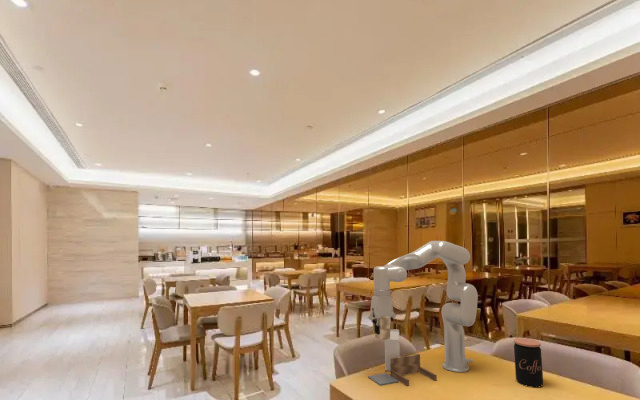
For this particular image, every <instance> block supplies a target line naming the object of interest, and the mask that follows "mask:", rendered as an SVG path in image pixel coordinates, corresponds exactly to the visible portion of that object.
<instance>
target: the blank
mask: <svg viewBox="0 0 640 400" xmlns="http://www.w3.org/2000/svg"><path fill="white" fill-rule="evenodd" d="M379 326H380V334H376V333H375V332H374V338H376V339H378V340H380V341H385V340H386V339H390V329H391V324H390V316H388V317H380V319H379Z"/></svg>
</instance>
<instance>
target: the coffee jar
mask: <svg viewBox="0 0 640 400" xmlns="http://www.w3.org/2000/svg"><path fill="white" fill-rule="evenodd" d="M513 343H514V344H513V352H514V353H513V354H514V368H515V369H514V370H515V380H516V381H517V383H519V384H520V385H522V384H523V385H522V386H524V385H527V386H526V387H528V386H533V387H532V388H540V387H539V386H541V385H542V386H543V384H544V377H543V376H544V373H543V361H542V360H543V359H542V349H541V347H542V346H541V342H539V341H537V340H536V339H535V340H534V339H532V338H523V337H522V338H519V337H517V338H514V339H513ZM542 386H541V387H542Z"/></svg>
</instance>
